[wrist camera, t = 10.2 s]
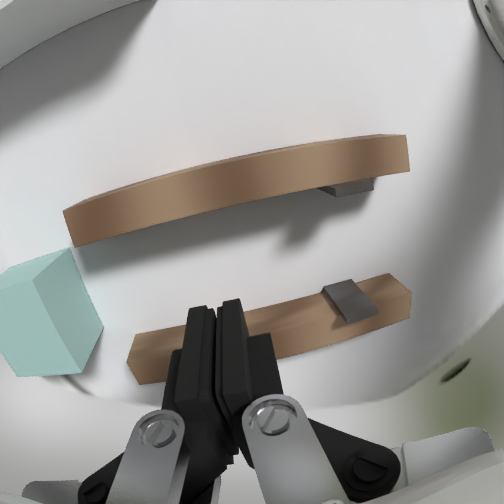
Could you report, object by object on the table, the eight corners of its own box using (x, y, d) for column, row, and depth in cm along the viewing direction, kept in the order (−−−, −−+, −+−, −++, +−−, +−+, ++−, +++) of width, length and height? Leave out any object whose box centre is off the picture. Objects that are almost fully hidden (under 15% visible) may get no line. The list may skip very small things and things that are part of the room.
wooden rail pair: (378, 134, 16) (416, 135, 13) (388, 297, 20) (417, 325, 17) (84, 199, 16) (53, 215, 12) (146, 356, 20) (136, 395, 16)
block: (70, 246, 16) (32, 279, 12) (104, 325, 19) (81, 372, 14) (10, 266, 16) (-28, 298, 12) (44, 336, 18) (17, 376, 14)
